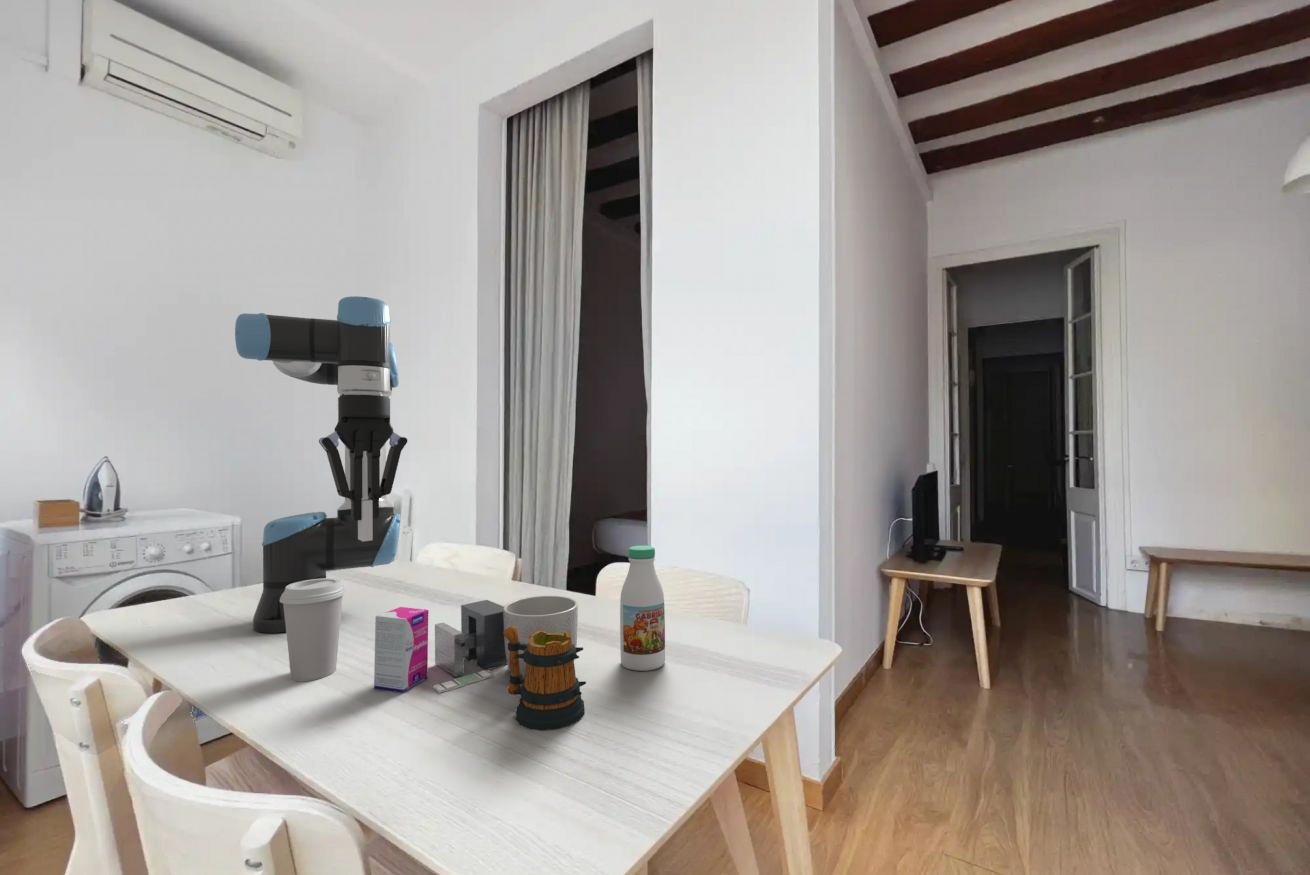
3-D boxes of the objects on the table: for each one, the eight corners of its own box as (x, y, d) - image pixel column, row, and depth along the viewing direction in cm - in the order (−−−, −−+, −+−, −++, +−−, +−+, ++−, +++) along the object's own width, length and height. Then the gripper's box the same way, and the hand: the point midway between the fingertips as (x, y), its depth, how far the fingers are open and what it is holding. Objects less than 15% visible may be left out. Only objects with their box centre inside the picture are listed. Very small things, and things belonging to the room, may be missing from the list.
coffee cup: (337, 658, 101) (336, 574, 102) (354, 672, 95) (353, 583, 95) (274, 673, 95) (273, 584, 95) (287, 690, 88) (287, 594, 88)
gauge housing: (461, 656, 101) (461, 605, 102) (487, 649, 105) (487, 599, 105) (484, 670, 95) (484, 615, 95) (511, 662, 98) (511, 609, 98)
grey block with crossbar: (435, 663, 98) (434, 624, 98) (498, 645, 106) (498, 609, 106) (461, 681, 90) (461, 638, 90) (527, 660, 98) (527, 622, 98)
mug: (600, 704, 82) (599, 624, 82) (560, 738, 73) (559, 648, 73) (526, 689, 87) (526, 614, 88) (481, 719, 78) (480, 635, 78)
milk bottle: (611, 664, 97) (610, 547, 97) (642, 651, 103) (641, 541, 103) (643, 676, 92) (642, 553, 92) (674, 662, 98) (673, 546, 98)
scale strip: (433, 688, 88) (433, 685, 88) (487, 672, 94) (487, 669, 94) (439, 693, 86) (439, 690, 86) (493, 676, 93) (493, 673, 93)
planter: (535, 652, 103) (534, 592, 103) (592, 663, 98) (592, 599, 98) (487, 677, 92) (486, 610, 92) (549, 691, 87) (548, 619, 87)
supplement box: (404, 693, 86) (404, 618, 87) (372, 689, 88) (372, 616, 88) (429, 678, 92) (429, 608, 92) (399, 675, 94) (398, 605, 94)
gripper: (324, 391, 84) (325, 548, 85) (414, 395, 93) (414, 537, 93) (313, 394, 90) (314, 541, 90) (399, 397, 99) (399, 532, 99)
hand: (365, 539), depth 92 cm, fingers closed
